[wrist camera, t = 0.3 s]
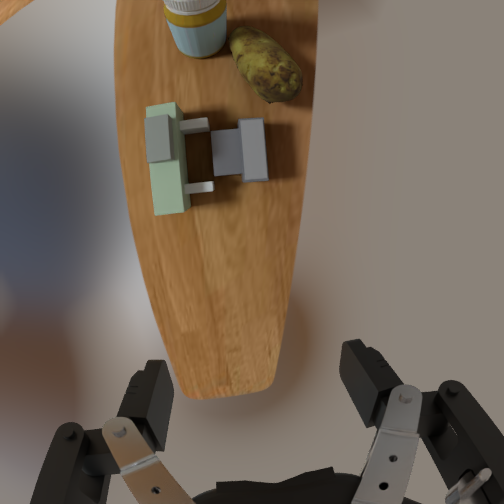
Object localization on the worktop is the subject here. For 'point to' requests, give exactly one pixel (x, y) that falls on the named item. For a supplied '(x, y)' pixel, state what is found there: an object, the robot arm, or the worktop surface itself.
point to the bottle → (197, 25)
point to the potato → (265, 65)
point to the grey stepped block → (241, 151)
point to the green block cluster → (171, 157)
